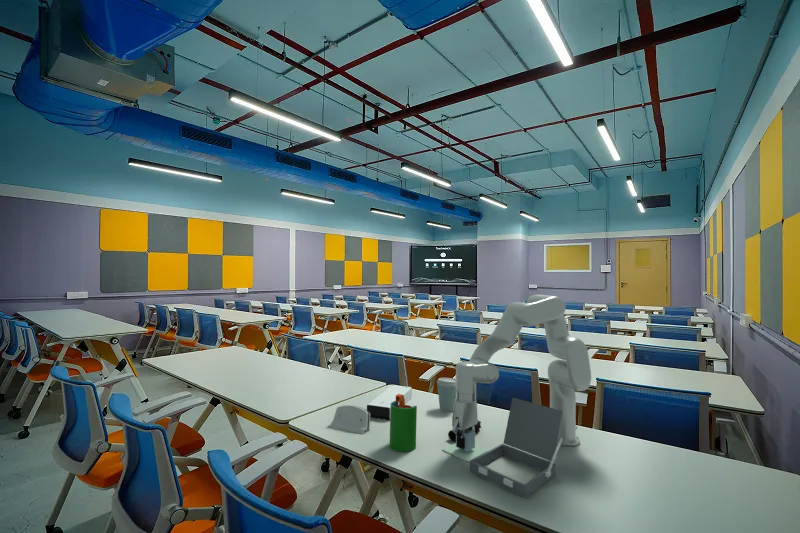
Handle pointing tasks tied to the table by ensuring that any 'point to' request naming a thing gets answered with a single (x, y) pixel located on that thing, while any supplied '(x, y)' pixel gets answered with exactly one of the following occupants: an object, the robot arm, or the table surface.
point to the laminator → (387, 401)
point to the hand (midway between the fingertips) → (465, 444)
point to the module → (468, 439)
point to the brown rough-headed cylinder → (452, 435)
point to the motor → (402, 425)
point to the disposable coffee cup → (446, 393)
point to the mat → (464, 452)
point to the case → (520, 456)
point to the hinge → (351, 419)
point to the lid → (533, 428)
